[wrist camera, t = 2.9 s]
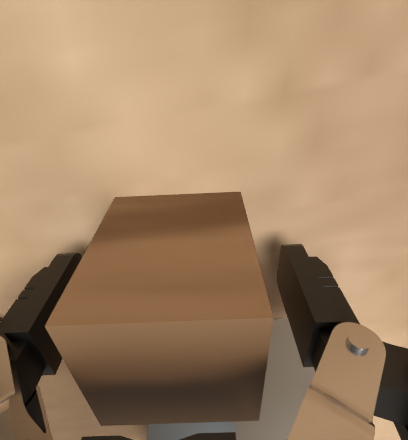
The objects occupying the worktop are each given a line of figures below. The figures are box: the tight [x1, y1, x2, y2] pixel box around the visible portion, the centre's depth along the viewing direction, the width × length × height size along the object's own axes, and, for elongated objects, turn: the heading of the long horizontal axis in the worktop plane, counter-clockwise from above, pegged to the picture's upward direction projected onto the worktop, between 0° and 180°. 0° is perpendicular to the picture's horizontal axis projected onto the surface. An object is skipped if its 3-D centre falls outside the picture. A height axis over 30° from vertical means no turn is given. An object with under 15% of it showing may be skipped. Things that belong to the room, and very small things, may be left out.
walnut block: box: [45, 192, 273, 426], centre depth 10 cm, size 5×5×6 cm
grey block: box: [235, 317, 315, 440], centre depth 14 cm, size 5×5×6 cm
